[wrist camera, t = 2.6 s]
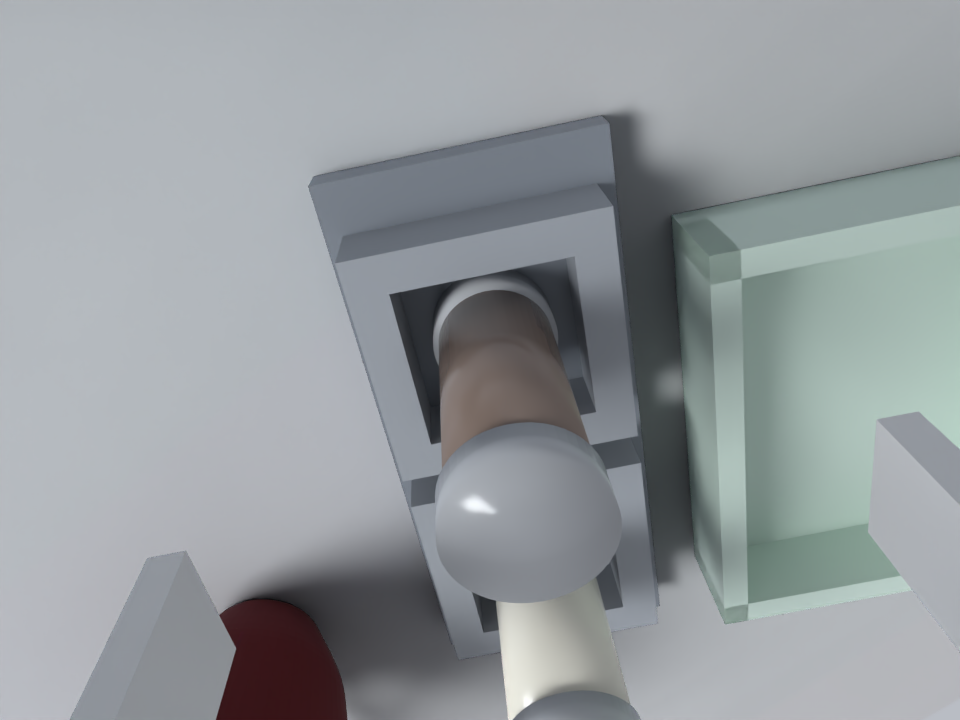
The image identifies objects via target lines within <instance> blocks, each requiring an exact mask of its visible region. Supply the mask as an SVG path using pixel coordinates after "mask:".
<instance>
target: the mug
mask: <svg viewBox="0 0 960 720" xmlns="http://www.w3.org/2000/svg"><path fill="white" fill-rule="evenodd" d="M219 616H220V618H221V620H222V622H223V624H224V626H225V628H226V630H227V632H228V634H229V635H230V637H231V639H232V641H233V643H234V645H235V647H236V651H235V654H234V658H233V661H232V665H231V668H230V672H229V675H228V679H227V682H226V686H225V689H224V693H223V696H222V700H221V703H220V707H219V710H218V714H217V717H216V720H347V710H346V700H345V693H344V688H343V683H342V679H341V676H340V674H339V671H338V668H337V666H336V663H335V661H334V659H333V657H332V654H331V652H330V650H329V648H328V647H327V645H326V643H325V641H324V639H323V637H322V635H321V633H320V631H319V629H318V627H317V626H316V624H315V623H314V621H313V620H312V619H311V618H310V616H309V615H307V614H306V613H305V612H304V611H302V610H301V609H299V608H297V607H295V606H293V605H291V604H288V603H285V602H282V601H277V600H270V599H256V600H249V601H245V602H241V603H238V604H236V605H234V606H232V607H230V608H228V609H227V610H225V611H224V612H223V613H221V614H220V615H219Z"/></svg>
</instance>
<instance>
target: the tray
mask: <svg viewBox="0 0 960 720" xmlns="http://www.w3.org/2000/svg"><path fill="white" fill-rule="evenodd" d="M671 216H672V231H673V246H674V260H675V275H676V290H677V305H678V319H679V334H680V349H681V363H682V378H683V393H684V407H685V422H686V437H687V451H688V466H689V481H690V495H691V510H692V525H693V539H694V554H695V557H696V560H697V562H698V564H699V566H700V569H701V571H702V573H703V576H704V578H705V580H706V582H707V585H708V587H709V589H710V591H711V594H712V596H713V598H714V600H715V603H716V605H717V607H718V610H719V612H720V614H721V616H722V619H723V621H724V623H725V624H731V623H736V622H742V621H747V620H753V619H758V618H763V617H769V616H774V615H780V614H785V613H791V612H796V611H802V610H807V609H813V608H818V607H823V606H829V605H834V604H840V603H845V602H851V601H856V600H862V599H867V598H873V597H878V596H883V595H889V594H894V593H900V592H905V591H911V590H912V589H911V588H910V587H909V585H908V584H907V583H906V581H905V580H904V579H903V578H902V576H901V575H900V574H899V572H898V571H897V570H896V568H895V567H894V566H893V564H892V563H891V562H890V560H889V559H888V558H887V557H886V555H885V554H884V553H883V551H882V550H881V549H880V547H879V546H878V545H877V543H876V542H875V541H874V539H873V538H872V537H871V536H870V534H869V533H868V526H869V513H870V499H871V486H872V473H873V460H874V447H875V433H876V420H877V419H881V418H886V417H892V416H897V415H902V414H907V413H913V412H918V411H919V412H920V413H921V414H922V415H923V416H924V417H925V418H926V419H927V420H929V421H930V422H931V423H932V424H933V425H934V426H935V427H936V428H937V429H938V430H939V431H940V432H941V433H943V434H944V435H945V436H946V437H947V438H948V439H949V440H950V441H951V442H952V443H953V444H954V445H956V446H957V447H958V448H959V449H960V156H956V157H952V158H947V159H942V160H937V161H932V162H927V163H922V164H918V165H913V166H908V167H903V168H898V169H893V170H888V171H884V172H879V173H874V174H869V175H864V176H859V177H854V178H850V179H845V180H840V181H835V182H830V183H825V184H820V185H816V186H811V187H806V188H801V189H796V190H791V191H786V192H782V193H777V194H772V195H767V196H762V197H757V198H752V199H747V200H743V201H738V202H733V203H728V204H723V205H718V206H713V207H709V208H704V209H699V210H694V211H689V212H684V213H679V214H675V215H671Z"/></svg>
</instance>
